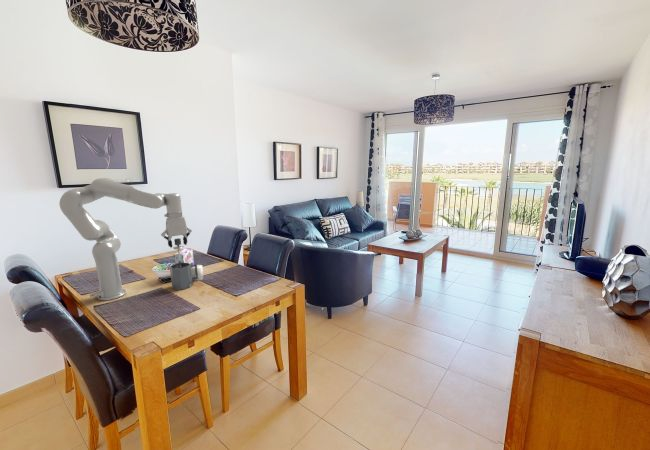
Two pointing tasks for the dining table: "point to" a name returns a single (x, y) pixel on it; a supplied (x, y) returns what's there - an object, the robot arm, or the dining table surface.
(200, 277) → the mug
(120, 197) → the robot arm
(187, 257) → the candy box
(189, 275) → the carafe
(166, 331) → the dining table surface
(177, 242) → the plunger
